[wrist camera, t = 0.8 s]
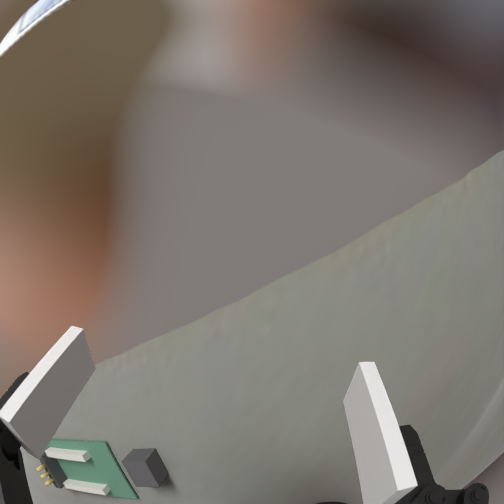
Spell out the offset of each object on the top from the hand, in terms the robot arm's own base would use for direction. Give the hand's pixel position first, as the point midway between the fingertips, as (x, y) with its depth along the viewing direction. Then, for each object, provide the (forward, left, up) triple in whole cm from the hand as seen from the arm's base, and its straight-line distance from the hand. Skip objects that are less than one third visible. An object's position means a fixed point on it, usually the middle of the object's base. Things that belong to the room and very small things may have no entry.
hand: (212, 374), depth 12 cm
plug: (-22, +27, -30) cm, 46 cm away
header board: (-25, +46, -30) cm, 60 cm away
